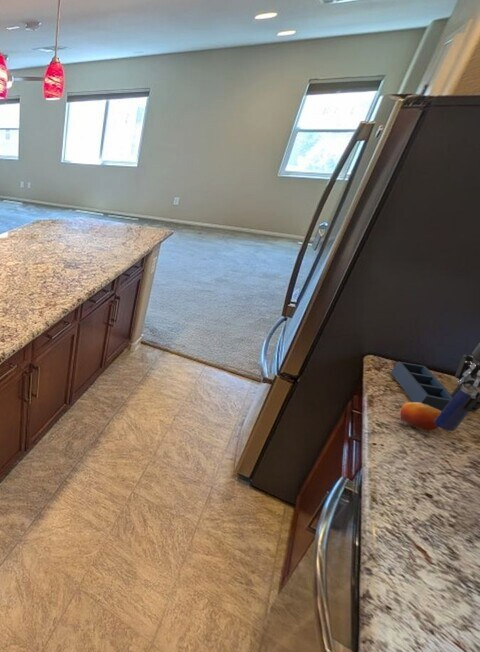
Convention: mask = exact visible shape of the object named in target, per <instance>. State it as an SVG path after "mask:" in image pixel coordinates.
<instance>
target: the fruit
mask: <svg viewBox="0 0 480 652" xmlns="http://www.w3.org/2000/svg"><path fill="white" fill-rule="evenodd" d="M441 412H442V411H440V410H438V409H436V408H433V407H430V406H429V405H426V404H423V403H419V402H413V401H411V402H410V401H409V402H405V403H404V404H403V405H402V406H401V409H400V412H399V413H400V415H399V416H400V420H401V421H402V423H403V425H404V426H410V427H413V428H416V429H418V430H419V431H421V432H422V433H423V434H425V432H430V431H433V430H436V429H438V428H439V427H438V426H436V425H435V424H434V420H435V419H436V418H437V417H438V415H439V414H440V413H441Z"/></svg>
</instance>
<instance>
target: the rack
mask: <svg viewBox="0 0 480 652" xmlns="http://www.w3.org/2000/svg"><path fill="white" fill-rule="evenodd" d="M390 373H391V375H392V376H393V377H394V379H395V380H396V381H397V383H398V384H399V385H400V387H401V388H402V390H403V391H404V392H405V393H406V394H407V396H408V397H409V399H410V400H411V402H419V403H423V404H426V405H429V406H430V407H433V408H436V409H438V410H440V411H442V410H443V409H444V408H445V407H446V405H447V404H448V403H449V402H450V400H451V399H452V397H451V394H452V393H450V391H449V390H448V389H447V388H446V387H445V386H444V385H443V384H442V383H441V381H440V380H439V379H438V378H437V377H436V376H435V375H434V374H433V373H432V372H431V371H430V370H429V368H428V367H427V366H426V365H421V364H416V363H409V362H404V361H397V362H396V364H395V365H394V367H393V368H392V369H391V371H390Z"/></svg>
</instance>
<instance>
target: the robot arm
mask: <svg viewBox="0 0 480 652" xmlns="http://www.w3.org/2000/svg"><path fill="white" fill-rule="evenodd" d="M454 378H455V379H458V380H457V386H456V387H455V388H454V390H453V391H452V393H450V394H451V397H452V398H453V397H454V395H455V394H456V393H457V392H458V390H459V389H460V387H461V386H462V384H472V385H473V386H472V387H473V388H474V390H473V392H472V394H471V396H469V397H468V399H467V400H466V401H465V402H464V403H463V405H462V406H461V408H462V409H463V410H465V411H470V413H475V412H477V411H479V409H480V342H479V343H478V344H477V345H476V347H475V349H474V350H473V351H472V352H471V354H469V355H468V354H463V355H462V358H461V360H460V362H459V365H458V368H457V370H456V372H455V375H454Z"/></svg>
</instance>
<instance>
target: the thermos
mask: <svg viewBox="0 0 480 652" xmlns="http://www.w3.org/2000/svg"><path fill="white" fill-rule="evenodd" d="M472 386H473V385H472V384H462V386H461V387H460V389H459V390H458V392H457V393H456V394H455V395H454V397H453V398H452V399H451V400H450V402H449V403H448V404H447V405H446V407H445V408H444V409H443V410H442V412H441V413H440V414H439V415H438V417H437V418H436V419H435V420H434V424H435V425H436V426H438V428H440V429H442V430H444V431H449V432H454V431H456V429H457V428H458V427H459V426H460V424H461V423H463V421H464V420H465V419H466V418H467V416H468V415H470V413H471V412H470V411H465V410H463V409H462V408H461V406H462V405H463V403H464V402H465V401H466V400H467V399H468V397H469V396H471V394H472V392H473V390H474V388H473V387H472Z"/></svg>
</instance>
